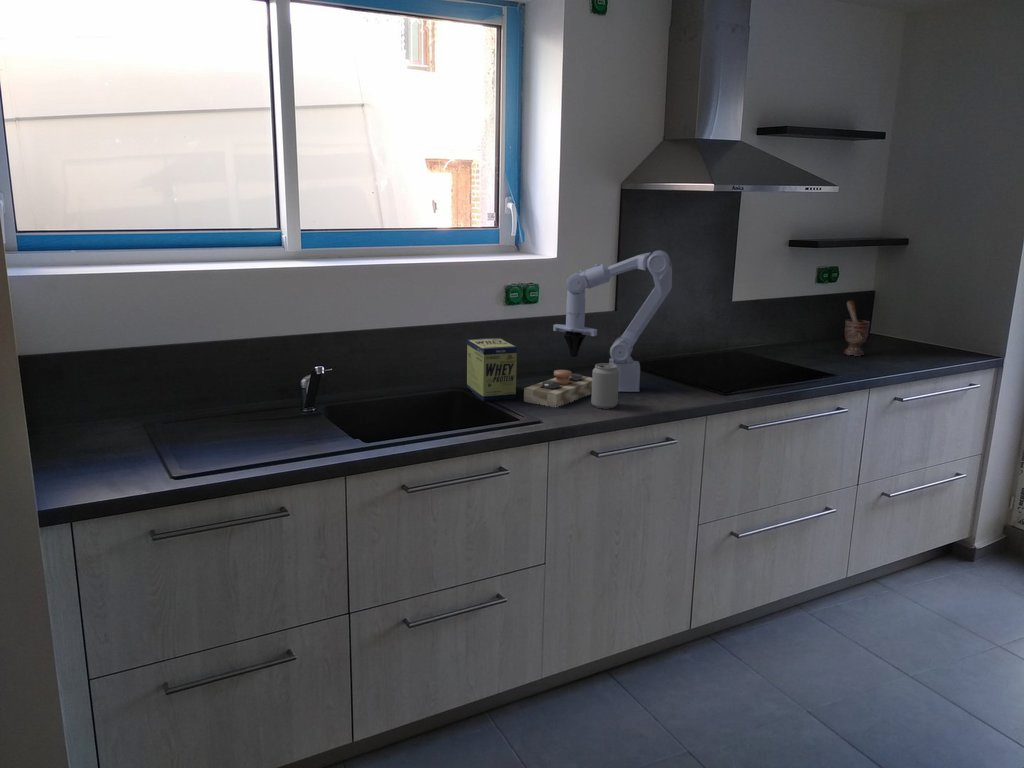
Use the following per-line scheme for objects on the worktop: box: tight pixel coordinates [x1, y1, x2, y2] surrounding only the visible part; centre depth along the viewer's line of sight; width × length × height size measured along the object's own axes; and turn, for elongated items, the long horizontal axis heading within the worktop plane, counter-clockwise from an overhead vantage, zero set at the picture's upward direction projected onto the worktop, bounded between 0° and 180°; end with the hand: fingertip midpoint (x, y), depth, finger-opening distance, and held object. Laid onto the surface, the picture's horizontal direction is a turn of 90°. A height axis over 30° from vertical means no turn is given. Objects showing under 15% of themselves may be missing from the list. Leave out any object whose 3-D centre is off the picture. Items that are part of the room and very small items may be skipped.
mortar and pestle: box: [843, 300, 871, 357], centre depth 313 cm, size 12×9×20 cm
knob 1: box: [542, 380, 560, 390], centre depth 239 cm, size 5×5×4 cm
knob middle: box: [553, 369, 573, 386], centre depth 244 cm, size 5×5×4 cm
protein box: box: [466, 337, 518, 402], centre depth 245 cm, size 10×16×16 cm
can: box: [590, 362, 619, 410], centre depth 234 cm, size 8×8×12 cm
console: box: [523, 375, 592, 409], centre depth 244 cm, size 24×11×4 cm, turn 145°
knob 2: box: [569, 373, 583, 382], centre depth 249 cm, size 5×5×4 cm
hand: (573, 356), depth 256 cm, fingers closed
